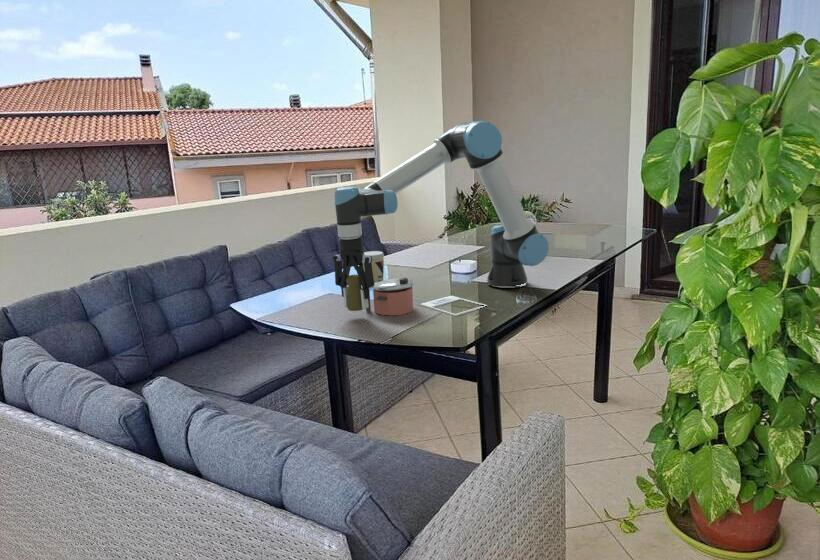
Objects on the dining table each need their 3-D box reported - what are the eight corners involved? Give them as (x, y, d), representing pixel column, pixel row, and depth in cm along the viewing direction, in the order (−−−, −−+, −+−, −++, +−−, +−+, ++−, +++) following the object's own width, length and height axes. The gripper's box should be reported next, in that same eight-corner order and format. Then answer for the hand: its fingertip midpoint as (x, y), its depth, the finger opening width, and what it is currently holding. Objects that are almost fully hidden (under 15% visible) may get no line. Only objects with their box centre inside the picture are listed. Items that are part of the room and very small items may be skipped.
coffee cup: (382, 285, 227) (380, 255, 224) (359, 285, 229) (357, 255, 226) (387, 279, 236) (386, 250, 233) (366, 279, 238) (364, 250, 235)
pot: (421, 305, 197) (420, 279, 195) (399, 318, 184) (397, 291, 181) (385, 301, 204) (384, 276, 202) (361, 314, 190) (359, 288, 188)
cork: (347, 306, 188) (344, 273, 186) (366, 304, 189) (363, 272, 186) (347, 311, 182) (344, 278, 180) (366, 309, 183) (363, 276, 180)
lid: (420, 281, 194) (419, 274, 193) (401, 291, 182) (400, 283, 182) (386, 280, 200) (385, 273, 200) (365, 290, 189) (364, 283, 188)
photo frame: (451, 294, 206) (487, 304, 192) (451, 297, 206) (487, 307, 192) (419, 303, 197) (455, 314, 183) (420, 306, 198) (455, 317, 184)
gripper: (382, 235, 178) (387, 306, 184) (332, 234, 187) (339, 301, 193) (369, 240, 172) (375, 313, 178) (318, 238, 181) (326, 308, 187)
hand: (356, 307), depth 185 cm, fingers closed on cork, 6 cm apart
